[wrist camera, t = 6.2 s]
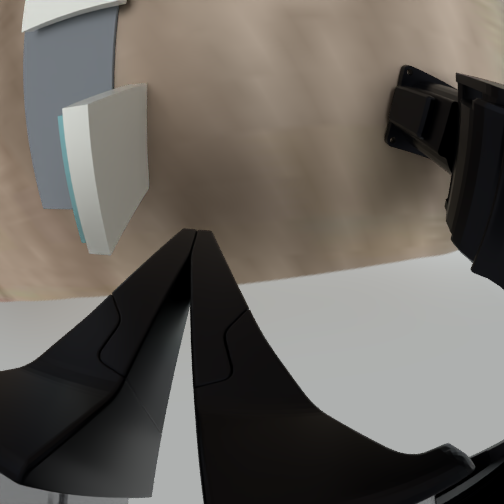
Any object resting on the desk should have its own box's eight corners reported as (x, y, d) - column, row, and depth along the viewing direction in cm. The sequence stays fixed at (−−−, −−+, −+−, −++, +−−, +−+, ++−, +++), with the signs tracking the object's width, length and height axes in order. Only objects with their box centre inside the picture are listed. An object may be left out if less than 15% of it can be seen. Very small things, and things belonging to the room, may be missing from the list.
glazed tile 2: (147, 83, 15) (87, 104, 9) (149, 187, 20) (110, 255, 14) (120, 85, 15) (52, 110, 8) (125, 186, 20) (80, 252, 13)
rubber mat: (145, -99, 4) (144, -101, 3) (122, 208, 21) (121, 210, 20) (49, -66, 3) (47, -66, 3) (45, 207, 20) (43, 208, 20)
